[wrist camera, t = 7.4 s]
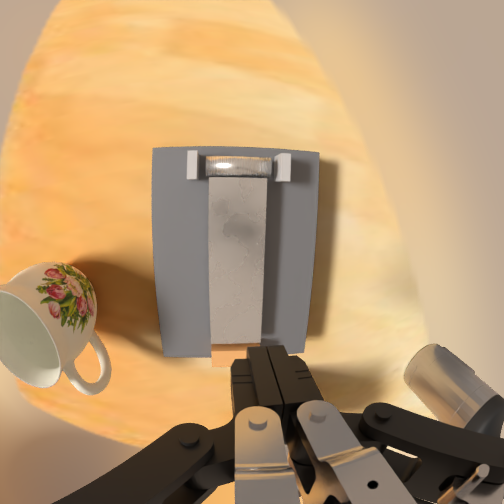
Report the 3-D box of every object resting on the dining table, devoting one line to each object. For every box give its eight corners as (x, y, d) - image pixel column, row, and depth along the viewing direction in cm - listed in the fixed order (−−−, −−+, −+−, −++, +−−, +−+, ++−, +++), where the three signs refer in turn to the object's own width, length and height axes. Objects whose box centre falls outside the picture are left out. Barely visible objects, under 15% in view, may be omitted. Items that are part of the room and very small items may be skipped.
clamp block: (306, 156, 29) (331, 148, 22) (295, 336, 34) (311, 367, 27) (161, 152, 27) (144, 143, 20) (168, 338, 32) (159, 372, 25)
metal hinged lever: (268, 158, 24) (272, 156, 23) (261, 335, 29) (264, 344, 27) (206, 157, 24) (205, 154, 22) (208, 336, 28) (207, 346, 26)
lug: (257, 337, 29) (261, 349, 27) (257, 352, 30) (260, 365, 27) (211, 338, 28) (211, 351, 26) (212, 353, 29) (212, 366, 26)
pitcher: (100, 366, 32) (66, 434, 19) (20, 268, 27) (-44, 304, 14) (150, 330, 32) (122, 405, 18) (61, 216, 27) (-14, 237, 14)
